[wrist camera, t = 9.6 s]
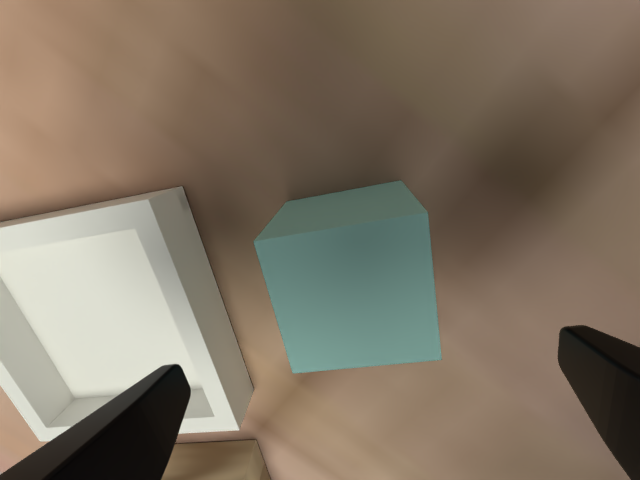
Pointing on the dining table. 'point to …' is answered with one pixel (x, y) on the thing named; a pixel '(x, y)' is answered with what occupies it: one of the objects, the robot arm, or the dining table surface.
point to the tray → (114, 313)
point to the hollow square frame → (216, 461)
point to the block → (352, 279)
